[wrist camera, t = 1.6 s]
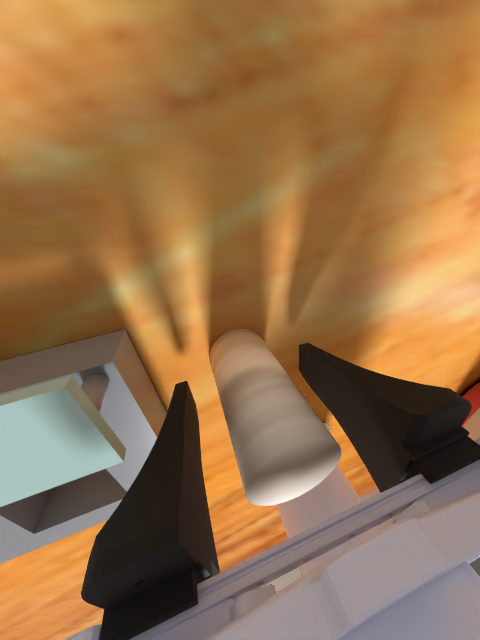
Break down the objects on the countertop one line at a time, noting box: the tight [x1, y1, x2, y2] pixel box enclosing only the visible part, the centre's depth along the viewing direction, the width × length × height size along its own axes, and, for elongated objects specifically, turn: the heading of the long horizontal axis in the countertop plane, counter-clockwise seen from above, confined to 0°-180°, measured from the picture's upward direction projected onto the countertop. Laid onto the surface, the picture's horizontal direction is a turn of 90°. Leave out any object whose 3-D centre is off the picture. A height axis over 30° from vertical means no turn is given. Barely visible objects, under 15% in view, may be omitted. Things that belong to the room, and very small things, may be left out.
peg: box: [210, 328, 341, 506], centre depth 11 cm, size 4×4×8 cm
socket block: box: [0, 329, 167, 564], centre depth 11 cm, size 14×12×6 cm
